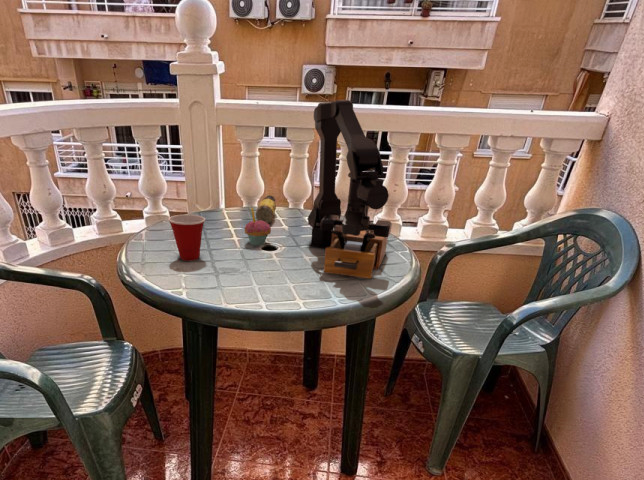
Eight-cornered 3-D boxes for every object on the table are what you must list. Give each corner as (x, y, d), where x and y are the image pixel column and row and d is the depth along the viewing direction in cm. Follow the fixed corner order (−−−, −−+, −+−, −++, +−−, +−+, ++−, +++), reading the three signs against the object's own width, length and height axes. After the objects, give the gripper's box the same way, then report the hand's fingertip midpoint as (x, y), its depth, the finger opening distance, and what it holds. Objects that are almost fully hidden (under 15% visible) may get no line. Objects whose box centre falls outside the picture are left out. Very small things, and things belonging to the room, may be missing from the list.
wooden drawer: (368, 284, 131) (371, 260, 127) (319, 277, 135) (321, 253, 131) (378, 262, 144) (381, 239, 140) (333, 256, 147) (336, 234, 143)
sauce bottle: (275, 211, 171) (281, 195, 186) (258, 204, 170) (266, 188, 186) (268, 228, 175) (274, 210, 190) (252, 221, 174) (259, 203, 189)
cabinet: (378, 269, 142) (382, 240, 137) (329, 262, 146) (332, 234, 141) (385, 253, 152) (389, 225, 147) (339, 247, 156) (342, 220, 151)
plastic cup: (214, 254, 151) (212, 214, 144) (196, 266, 143) (192, 225, 136) (184, 248, 155) (181, 210, 148) (165, 260, 147) (160, 219, 140)
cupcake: (251, 249, 155) (251, 210, 147) (240, 241, 161) (239, 203, 153) (275, 245, 158) (276, 206, 151) (263, 237, 164) (263, 199, 157)
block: (342, 261, 138) (344, 246, 135) (345, 255, 141) (347, 240, 138) (358, 263, 137) (359, 247, 134) (361, 257, 140) (362, 242, 137)
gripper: (317, 203, 125) (313, 261, 135) (390, 210, 120) (380, 271, 130) (327, 192, 134) (323, 248, 143) (396, 199, 129) (386, 256, 138)
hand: (352, 256), depth 138 cm, fingers closed on block, 4 cm apart
